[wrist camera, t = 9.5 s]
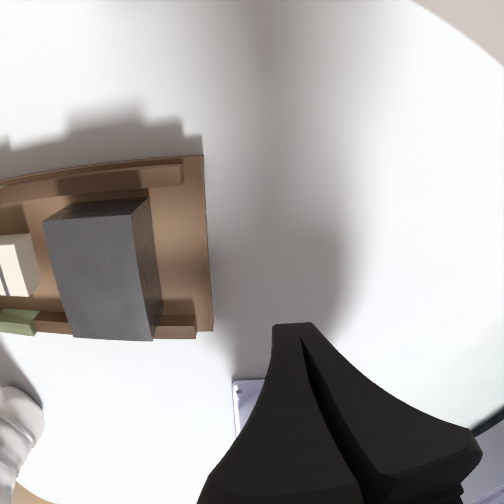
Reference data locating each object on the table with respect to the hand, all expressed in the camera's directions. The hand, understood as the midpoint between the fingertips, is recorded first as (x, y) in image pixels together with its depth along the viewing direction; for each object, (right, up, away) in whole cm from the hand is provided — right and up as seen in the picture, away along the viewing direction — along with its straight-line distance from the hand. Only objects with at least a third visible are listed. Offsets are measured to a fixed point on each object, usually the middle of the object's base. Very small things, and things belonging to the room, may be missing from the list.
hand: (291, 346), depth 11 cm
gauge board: (-14, +3, +8) cm, 16 cm away
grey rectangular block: (-9, +3, +7) cm, 12 cm away
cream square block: (-18, +3, +7) cm, 19 cm away
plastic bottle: (-26, -13, +14) cm, 32 cm away
